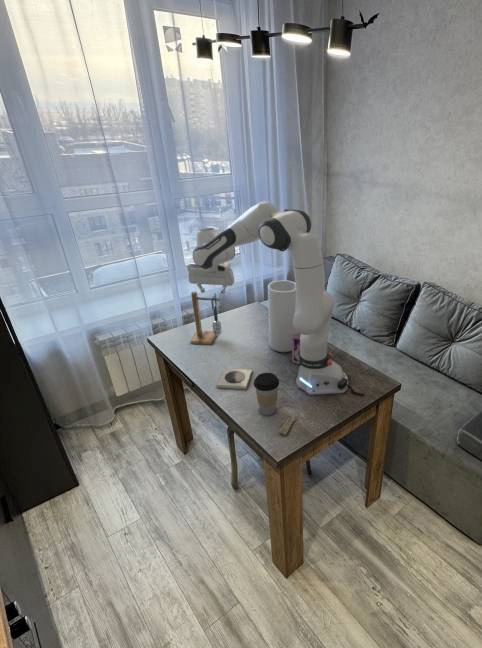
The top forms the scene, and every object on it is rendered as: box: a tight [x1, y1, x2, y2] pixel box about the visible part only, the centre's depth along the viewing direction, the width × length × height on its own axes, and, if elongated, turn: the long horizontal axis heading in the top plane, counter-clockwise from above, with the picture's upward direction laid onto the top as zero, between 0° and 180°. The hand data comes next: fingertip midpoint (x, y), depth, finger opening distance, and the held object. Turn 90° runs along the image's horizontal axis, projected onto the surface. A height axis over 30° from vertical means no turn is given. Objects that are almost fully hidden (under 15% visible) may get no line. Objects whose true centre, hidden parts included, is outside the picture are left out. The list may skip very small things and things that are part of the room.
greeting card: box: [291, 333, 301, 365], centre depth 179 cm, size 11×7×15 cm, turn 66°
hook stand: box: [190, 291, 222, 345], centre depth 191 cm, size 15×10×25 cm, turn 88°
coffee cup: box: [253, 372, 280, 416], centre depth 150 cm, size 9×9×15 cm
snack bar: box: [278, 416, 297, 436], centre depth 146 cm, size 10×2×3 cm
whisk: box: [210, 292, 223, 337], centre depth 190 cm, size 4×6×21 cm
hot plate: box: [216, 368, 253, 390], centre depth 169 cm, size 12×12×2 cm
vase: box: [267, 279, 300, 353], centre depth 187 cm, size 14×14×32 cm
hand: (213, 292), depth 184 cm, fingers open, 8 cm apart
